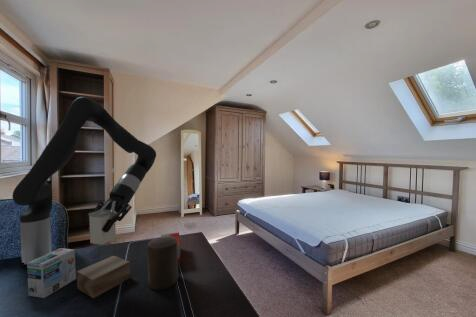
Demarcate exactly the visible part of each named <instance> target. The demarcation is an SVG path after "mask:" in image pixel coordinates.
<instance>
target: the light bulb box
mask: <svg viewBox="0 0 476 317" xmlns="http://www.w3.org/2000/svg"><path fill="white" fill-rule="evenodd" d="M26 269H27V288H28V289H27V292H28V297H34V298H40V299H45V298H47V297H48V296H51V295H52V294H53V293H55V292H57V291H58V290H60V289H61V288H63V287H66V286H67V285H69V284H70V283H72V282H73V281H75V280H77V271H76V250H75V249H70V248H62V247H59V248H58V249H56V250H52V252H51V253H48V254H46V255H44V256H41V257H39V258H37V259H34V260H32V261H30V262H27V264H26Z"/></svg>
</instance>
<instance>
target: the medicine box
mask: <svg viewBox="0 0 476 317" xmlns="http://www.w3.org/2000/svg"><path fill="white" fill-rule="evenodd" d="M161 237H174V238H176V239H177V260H178V266H179V265H181V242H180V241H181V240H180V232H173V233H165V234H160V237H159V238H161Z"/></svg>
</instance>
